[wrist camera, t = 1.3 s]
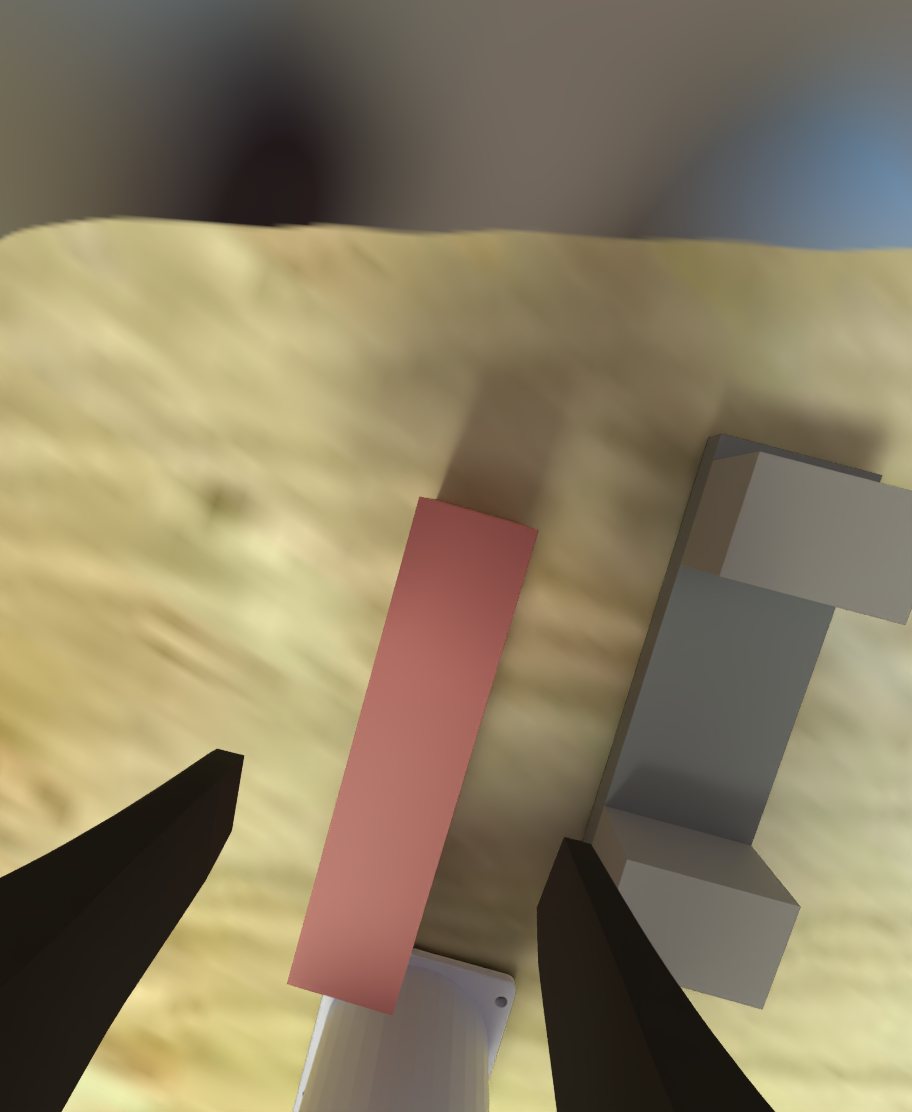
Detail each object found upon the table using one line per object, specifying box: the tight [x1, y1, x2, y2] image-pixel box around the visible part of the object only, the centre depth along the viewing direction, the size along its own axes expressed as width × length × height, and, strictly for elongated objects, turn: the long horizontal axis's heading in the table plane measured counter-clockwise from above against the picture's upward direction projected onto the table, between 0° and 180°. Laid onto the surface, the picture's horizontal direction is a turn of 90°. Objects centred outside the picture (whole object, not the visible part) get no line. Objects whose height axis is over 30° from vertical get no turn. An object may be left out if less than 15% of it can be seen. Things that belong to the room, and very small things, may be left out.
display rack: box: [582, 434, 912, 1009], centre depth 18 cm, size 20×6×4 cm, turn 165°
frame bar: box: [287, 497, 538, 1015], centre depth 18 cm, size 16×4×6 cm, turn 164°
